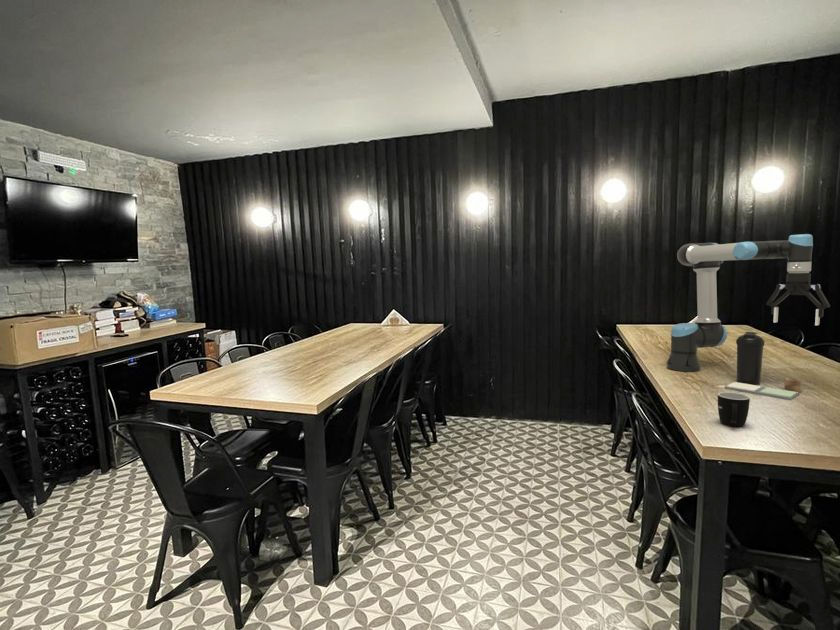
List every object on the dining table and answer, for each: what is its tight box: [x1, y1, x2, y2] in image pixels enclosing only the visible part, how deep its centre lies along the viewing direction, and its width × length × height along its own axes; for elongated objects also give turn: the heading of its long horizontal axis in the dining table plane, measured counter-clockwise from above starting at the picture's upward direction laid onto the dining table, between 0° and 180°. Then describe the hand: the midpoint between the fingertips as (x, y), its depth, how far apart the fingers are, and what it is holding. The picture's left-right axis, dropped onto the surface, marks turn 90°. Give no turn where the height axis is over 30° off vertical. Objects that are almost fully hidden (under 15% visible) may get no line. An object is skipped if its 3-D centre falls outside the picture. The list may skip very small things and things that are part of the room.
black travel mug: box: [735, 331, 765, 386], centre depth 199 cm, size 10×10×23 cm
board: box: [724, 381, 800, 401], centre depth 187 cm, size 23×11×1 cm, turn 36°
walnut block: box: [783, 376, 802, 394], centre depth 187 cm, size 5×5×5 cm
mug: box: [717, 391, 751, 428], centre depth 151 cm, size 12×9×10 cm
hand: (795, 323), depth 184 cm, fingers open, 13 cm apart
